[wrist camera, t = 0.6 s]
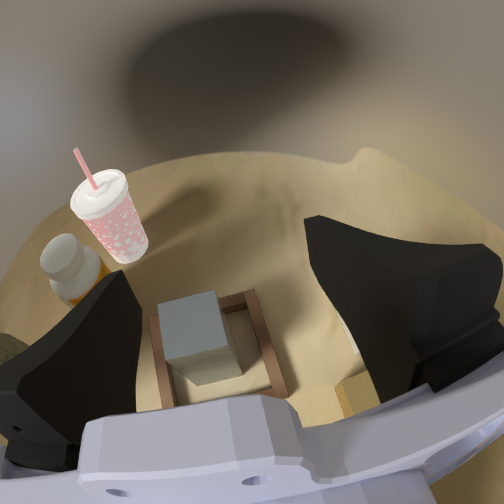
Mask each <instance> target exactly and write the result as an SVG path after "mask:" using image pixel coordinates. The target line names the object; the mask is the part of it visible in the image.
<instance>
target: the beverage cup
mask: <svg viewBox="0 0 504 504" xmlns="http://www.w3.org/2000/svg"><path fill="white" fill-rule="evenodd" d="M73 151H74V153H75V155H76V157H77V159H78V161H79V163H80V165H81V167H82V169H83V171H84V173H85V174H86V176H87V179H86V180H85V181H84V182H83V183H81V184H80V185H79V187H78V188H77V189H76V190H75V192H74V193H73V196H72V198H71V201H70V202H71V209H72V210H73V211H74V213H75V214H76V215H77V216H78V217H79V218H80V219H82V220H83V221H84V222H85V223H86V225H87V226H88V227H89V228H90V230H91V231H92V232H93V233H94V235H95V236H96V237H97V238H98V240H99V241H100V242H101V243H102V244H103V246H104V247H105V248H106V249H107V251H108V252H109V253H110V254H111V255H112V256H113V258H114V259H115V260H116V261H117V262H119V263H123V264H126V263H132V262H134V261H136V260H138V259H139V258H140V257H141V256H142V255H143V254H144V253H145V251H146V249H147V248H148V239H147V236H146V234H145V231H144V229H143V227H142V224H141V222H140V219H139V217H138V215H137V212H136V210H135V207H134V205H133V202H132V200H131V197H130V195H129V192H128V190H127V189H128V183H127V180H126V178H125V175H124V173H122V172H120V171H119V170H112V169H109V170H105V171H101V172H98V173H96V174H94V175H91V173H90V171H89V169H88V167H87V165H86V163H85V162H84V159H83V158H82V155H81V154H80V152H79V150H78V148H75V149H74V150H73Z"/></svg>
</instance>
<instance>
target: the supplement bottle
mask: <svg viewBox="0 0 504 504" xmlns="http://www.w3.org/2000/svg"><path fill="white" fill-rule="evenodd" d="M40 265H41V268H42V270H43V271H44V272H45V273H46V274H47V275H48V277H49V278H50V284H51V287H52V289H53V291H54V293H55V294H56V295H57V296H58V297H59V298H60V299H61V300H62V301H64V302H65V303H66V304H67V305H68V306H69V307H70V308H71V309H73V308H74V307H75V306H76V305H77V304H78V303H79V302H80V301H81V300H82V299H83V298H84V296H85V295H86V294H87V293H88V292H89V291H90V290H91V289H92V288H93V287H94V286H95V285H96V284H97V283H98V282H99V281H100V280H101V279H102V278H103V277H105V276H106V275H107V274H109V273H111V271H110V270H109V269H108V267H107V266H106V265H105V263H104V262H103V261H102V259H101V258H100V257H99V255H98V254H97V253H96V252H95V251H94V250H93V249H92V248H90V247H88V246H84V245H82V244H81V243H80V242H79V241H78V239H77V238H76V237H75V236H74V235H72V234H69V233H65V234H61V235H59V236H57V237H55V238H54V239H52V240H51V241H50V242H49V243H48V245H47V246H46V247H45V249H44V250H43V253H42V255H41V259H40Z"/></svg>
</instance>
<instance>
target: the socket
mask: <svg viewBox="0 0 504 504" xmlns="http://www.w3.org/2000/svg"><path fill="white" fill-rule="evenodd" d="M218 300H219V303H220V305H221V308H222V310H223V313H224V314H225V313H229V312H233V311H237V310H240V309H244V308H247V307H248V310H249V314H250V317H251V320H252V324H253V327H254V330H255V333H256V337H257V340H258V343H259V347H260V350H261V353H262V356H263V360H264V363H265V366H266V369H267V373H268V376H269V379H270V382H271V386H272V388H270V389H266V390H263V391H259V392H256V393H252V394H260V395H265V396H270V397H275V398H279V399H286V398H288V397H289V395H288V392H287V389H286V386H285V382H284V379H283V376H282V373H281V370H280V367H279V364H278V361H277V358H276V355H275V352H274V349H273V346H272V342H271V339H270V336H269V333H268V330H267V327H266V324H265V321H264V318H263V315H262V311H261V308H260V305H259V302H258V299H257V296H256V293H255V289H253V290H249V291H245V292H242V293H238V294H234V295H231V296H227V297H223V298H220V299H218ZM149 324H150V332H151V340H152V347H153V354H154V361H155V368H156V374H157V380H158V386H159V392H160V397H161V403H162V408H163V409H165V408H171V407H177V406H178V404H177V399H176V394H175V389H174V384H173V378H172V373H171V367H170V364H169V363H168V362H167V361H166V360H165V355H164V349H163V343H162V336H161V329H160V321H159V314H158V315H154V316H150V317H149ZM248 395H250V394H248Z"/></svg>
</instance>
